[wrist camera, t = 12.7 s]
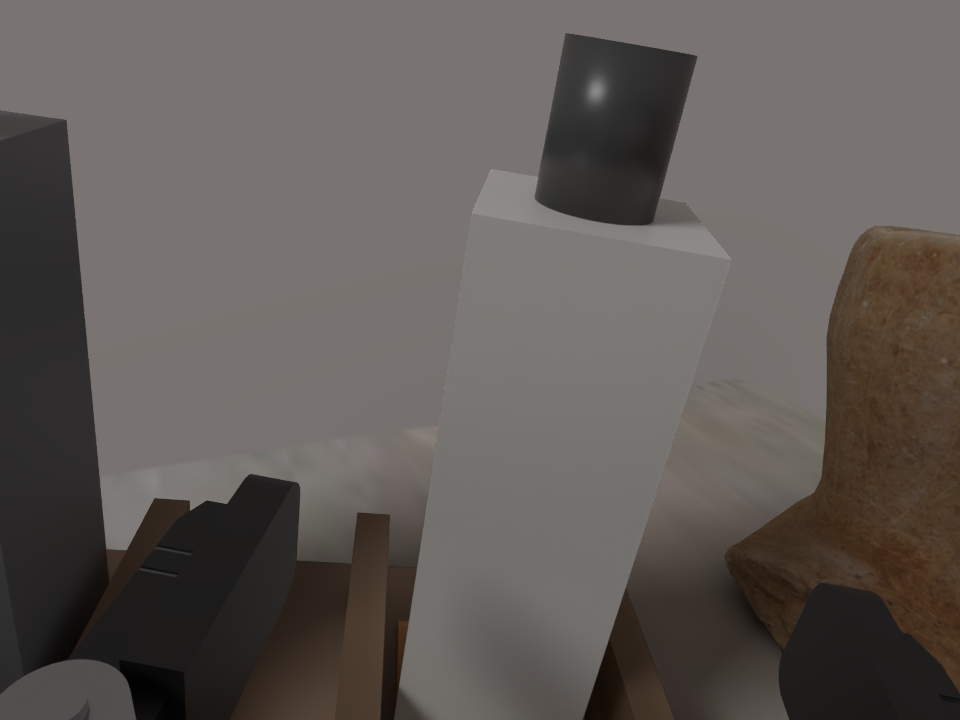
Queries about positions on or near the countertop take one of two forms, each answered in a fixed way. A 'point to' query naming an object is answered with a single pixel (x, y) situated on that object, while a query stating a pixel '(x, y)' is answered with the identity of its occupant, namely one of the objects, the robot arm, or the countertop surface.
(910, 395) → the stone cup
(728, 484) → the countertop surface
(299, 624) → the comb rack
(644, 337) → the white square bottle
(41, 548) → the grey square bottle
